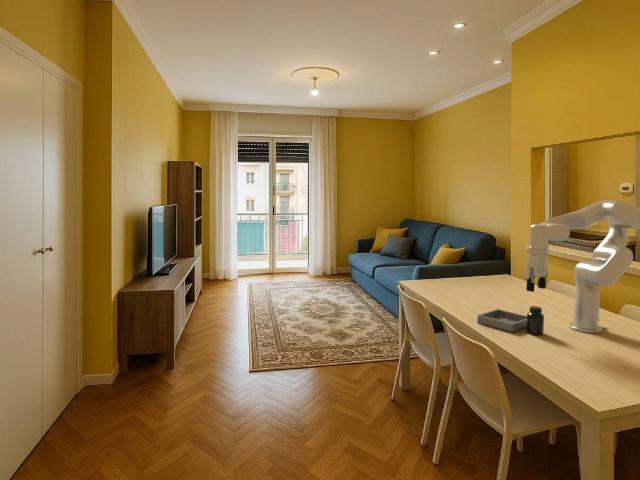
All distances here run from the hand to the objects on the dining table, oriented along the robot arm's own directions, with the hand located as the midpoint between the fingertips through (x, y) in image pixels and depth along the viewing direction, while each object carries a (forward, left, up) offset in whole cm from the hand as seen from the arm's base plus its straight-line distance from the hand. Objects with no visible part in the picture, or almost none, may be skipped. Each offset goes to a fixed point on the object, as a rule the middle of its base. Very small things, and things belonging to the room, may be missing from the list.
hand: (535, 289), depth 181 cm
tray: (-1, -15, -20) cm, 25 cm away
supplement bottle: (0, 0, -21) cm, 21 cm away
